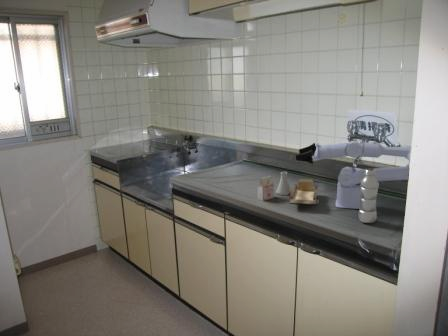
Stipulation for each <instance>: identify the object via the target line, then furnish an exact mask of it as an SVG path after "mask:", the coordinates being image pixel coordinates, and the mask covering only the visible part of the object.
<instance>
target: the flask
mask: <svg viewBox="0 0 448 336" xmlns="http://www.w3.org/2000/svg"><path fill="white" fill-rule="evenodd" d="M289 183H290V182H289V180H288V172H287V171H281V172H280V179H279V184H278V185H277V189H276V191H275V194H277V195H280V196H290V195H291V192H292V189H291V186H290V184H289Z"/></svg>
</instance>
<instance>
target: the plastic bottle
mask: <svg viewBox="0 0 448 336" xmlns="http://www.w3.org/2000/svg"><path fill="white" fill-rule="evenodd" d="M364 169H365V177H364V178H363V179H362V180H361V183H359V184H360V186H361V203H360V209H359V210H358V214H357V215H358V220H359V221H360V222H361V223H365V224H374V223H375V222H376V220H377V217H378V214H377V213H378V212H377V197H378V191H379V187H380V183H379V182H380V181H378V180H377V178H376V177H375V175H376V170H375V169H376V168H372V167H371V168H368V167H367V168H364Z"/></svg>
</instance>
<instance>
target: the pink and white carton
mask: <svg viewBox="0 0 448 336" xmlns="http://www.w3.org/2000/svg"><path fill="white" fill-rule="evenodd" d="M274 183H275V182H274V179H273V176H272V175H268V176H264V177H260V178H259V181H258V184H257V185H256V186H257V189H256V191H257V198H256V199H257V200H260V201H262V202H264V201H268V200H272V199H275V184H274Z"/></svg>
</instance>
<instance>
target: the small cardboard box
mask: <svg viewBox="0 0 448 336" xmlns="http://www.w3.org/2000/svg"><path fill="white" fill-rule="evenodd" d="M292 187H293V188H292V189H291V191H292V192H291V194H289V204H290V203H305V204H304V205H306V204H316V199H317V197H318V184H317V185H316V184H315V186H314V187H313V188H312V191H299V190H298V184H296V183H295V184H294V186H292Z"/></svg>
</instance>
